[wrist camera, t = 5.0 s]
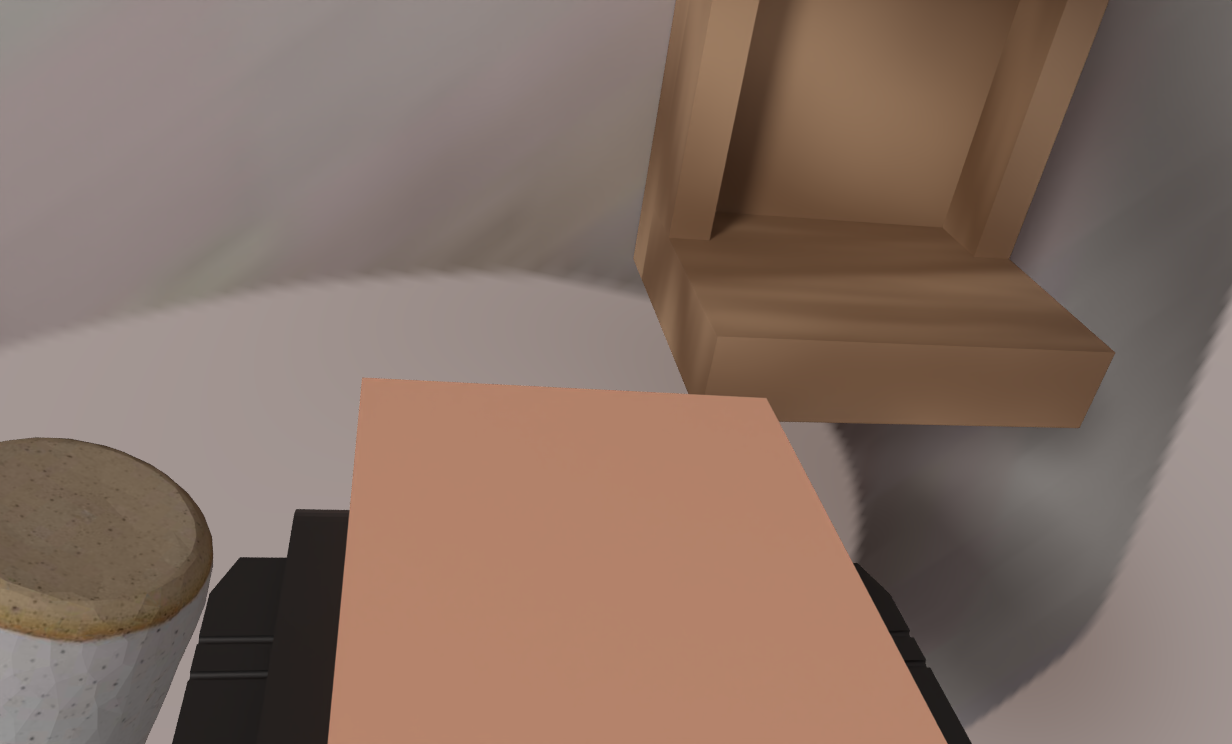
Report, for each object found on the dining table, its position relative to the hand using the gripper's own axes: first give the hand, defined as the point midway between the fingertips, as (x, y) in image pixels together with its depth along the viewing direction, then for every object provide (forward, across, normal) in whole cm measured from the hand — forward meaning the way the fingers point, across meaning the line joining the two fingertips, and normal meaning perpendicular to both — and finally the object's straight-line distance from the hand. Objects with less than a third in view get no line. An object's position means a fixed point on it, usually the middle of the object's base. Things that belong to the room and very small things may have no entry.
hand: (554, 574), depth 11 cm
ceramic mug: (+16, +12, +13) cm, 24 cm away
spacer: (+1, 0, 0) cm, 1 cm away
